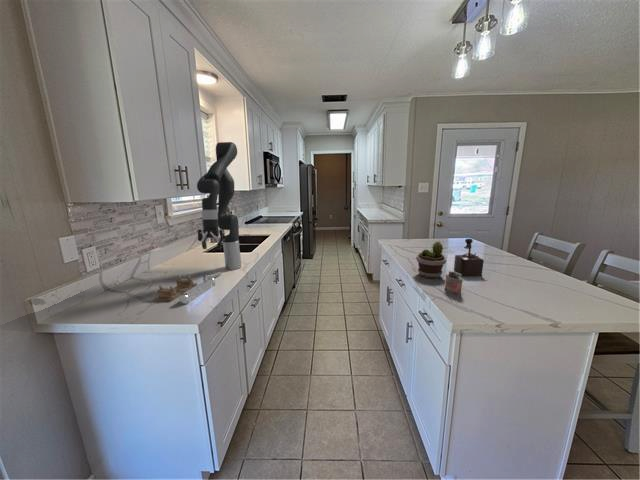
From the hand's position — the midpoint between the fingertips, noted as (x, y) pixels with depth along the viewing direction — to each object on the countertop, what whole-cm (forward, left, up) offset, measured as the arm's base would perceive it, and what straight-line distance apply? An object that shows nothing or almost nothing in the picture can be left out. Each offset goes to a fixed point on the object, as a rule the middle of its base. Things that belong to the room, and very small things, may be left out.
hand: (212, 249), depth 133 cm
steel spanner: (+17, +2, -18) cm, 25 cm away
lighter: (0, +120, -18) cm, 121 cm away
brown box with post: (-30, +136, -18) cm, 140 cm away
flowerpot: (-21, +115, -18) cm, 118 cm away
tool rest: (+17, -10, -18) cm, 26 cm away
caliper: (-1, -2, -18) cm, 18 cm away
